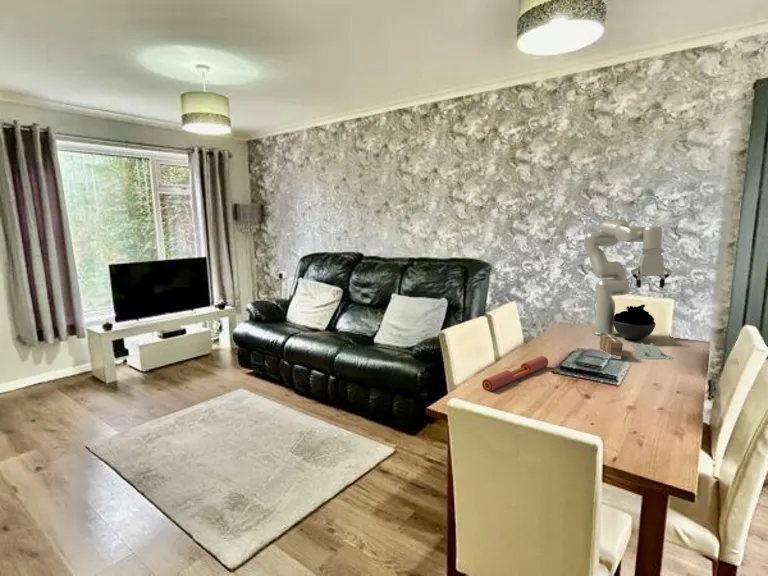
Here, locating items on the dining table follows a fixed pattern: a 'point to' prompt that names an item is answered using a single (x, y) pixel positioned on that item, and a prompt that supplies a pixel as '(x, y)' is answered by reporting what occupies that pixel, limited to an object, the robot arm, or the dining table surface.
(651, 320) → the bowl of black rocks
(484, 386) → the blood vessel
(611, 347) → the block
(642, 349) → the metal bracket
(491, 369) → the dining table surface
